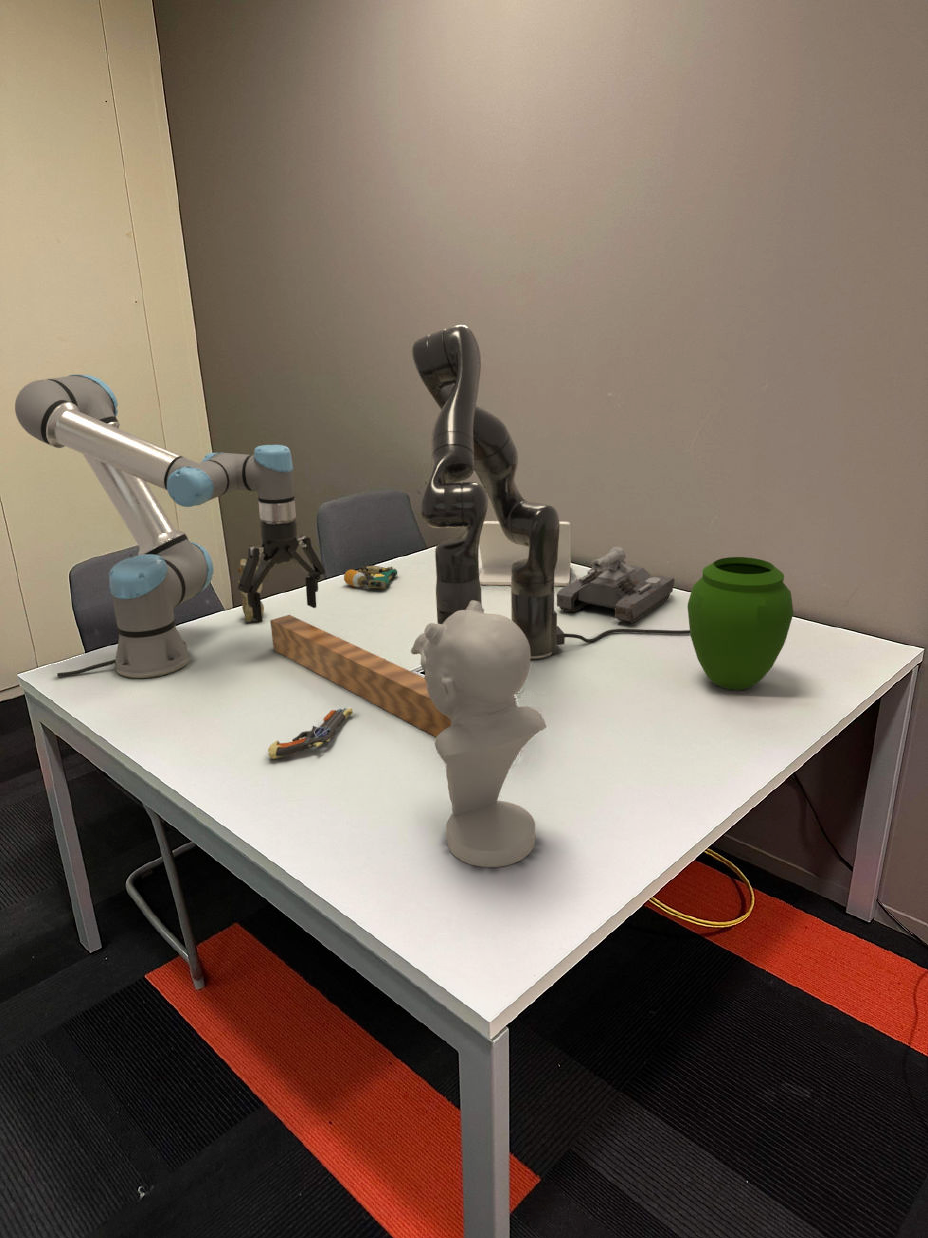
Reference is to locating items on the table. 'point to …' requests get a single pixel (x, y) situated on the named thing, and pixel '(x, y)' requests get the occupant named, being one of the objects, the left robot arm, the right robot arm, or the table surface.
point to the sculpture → (245, 606)
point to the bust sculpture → (481, 729)
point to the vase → (739, 620)
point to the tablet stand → (516, 555)
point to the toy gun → (311, 735)
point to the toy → (616, 588)
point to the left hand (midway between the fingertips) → (285, 613)
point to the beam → (359, 672)
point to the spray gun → (370, 576)
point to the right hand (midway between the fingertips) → (463, 690)
